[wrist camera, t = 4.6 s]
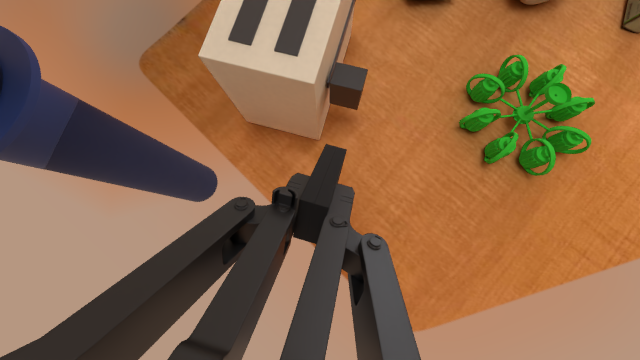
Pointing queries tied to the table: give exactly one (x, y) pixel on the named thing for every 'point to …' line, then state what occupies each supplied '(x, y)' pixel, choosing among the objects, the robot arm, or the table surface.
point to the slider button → (347, 85)
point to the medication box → (632, 16)
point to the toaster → (279, 58)
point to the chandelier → (528, 114)
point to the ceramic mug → (532, 1)
